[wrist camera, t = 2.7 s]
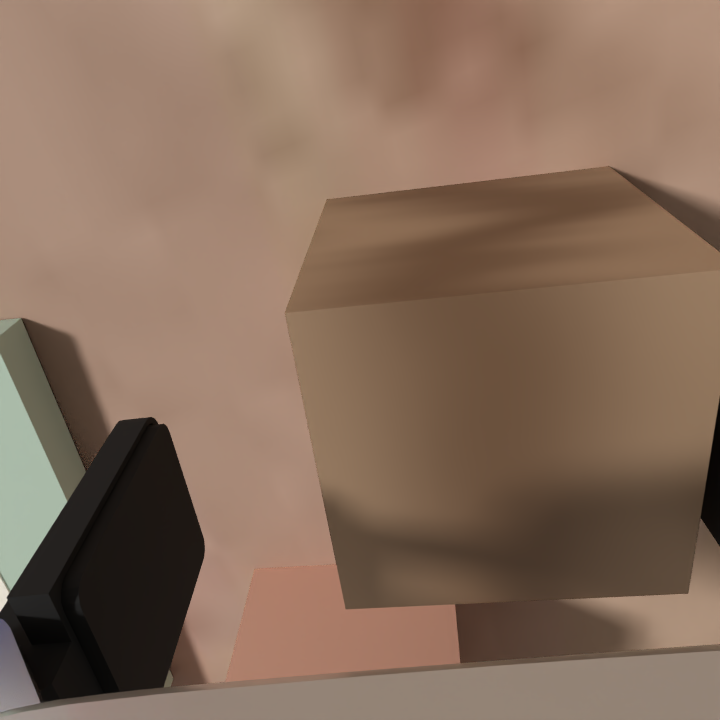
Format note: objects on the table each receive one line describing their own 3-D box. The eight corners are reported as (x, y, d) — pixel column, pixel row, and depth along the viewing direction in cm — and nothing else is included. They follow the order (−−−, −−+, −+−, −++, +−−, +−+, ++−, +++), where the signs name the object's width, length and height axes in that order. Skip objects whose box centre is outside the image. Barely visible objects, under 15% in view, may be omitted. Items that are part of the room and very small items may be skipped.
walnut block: (608, 165, 14) (740, 267, 8) (595, 404, 16) (688, 593, 11) (327, 198, 14) (285, 313, 9) (362, 423, 17) (345, 609, 12)
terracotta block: (450, 556, 19) (469, 763, 14) (462, 683, 22) (481, 895, 17) (255, 567, 20) (202, 768, 15) (290, 689, 23) (257, 895, 17)
